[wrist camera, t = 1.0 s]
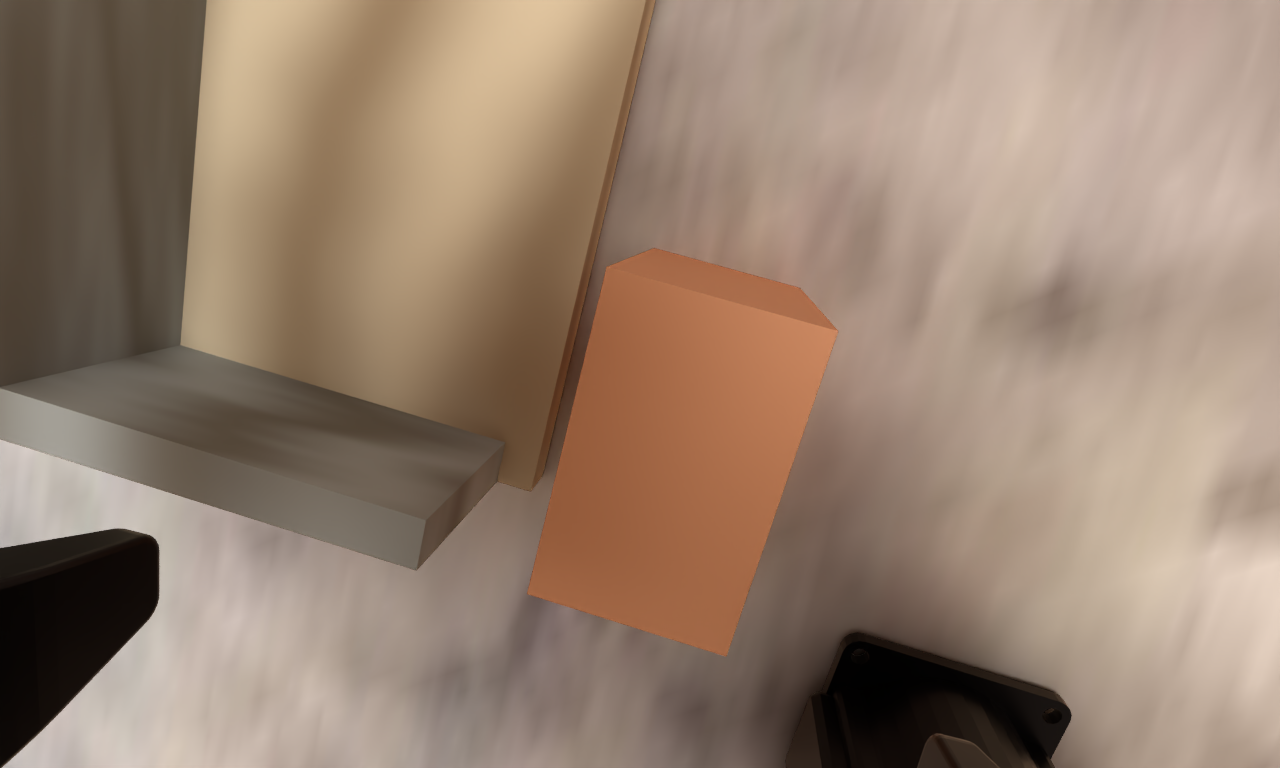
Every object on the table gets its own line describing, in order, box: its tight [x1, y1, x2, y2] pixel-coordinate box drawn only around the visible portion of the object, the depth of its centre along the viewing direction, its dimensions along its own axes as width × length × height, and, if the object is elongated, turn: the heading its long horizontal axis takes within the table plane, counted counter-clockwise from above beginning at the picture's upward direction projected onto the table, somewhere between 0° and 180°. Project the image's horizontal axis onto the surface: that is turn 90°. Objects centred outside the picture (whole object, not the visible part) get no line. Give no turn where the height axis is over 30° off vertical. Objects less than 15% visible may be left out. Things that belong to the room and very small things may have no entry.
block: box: [527, 248, 838, 656], centre depth 16 cm, size 4×6×7 cm, turn 165°
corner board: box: [0, 0, 656, 570], centre depth 16 cm, size 13×14×6 cm
